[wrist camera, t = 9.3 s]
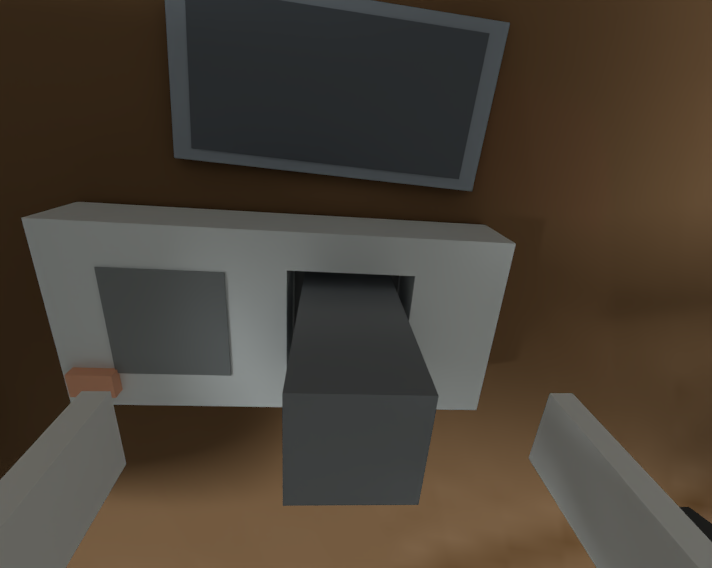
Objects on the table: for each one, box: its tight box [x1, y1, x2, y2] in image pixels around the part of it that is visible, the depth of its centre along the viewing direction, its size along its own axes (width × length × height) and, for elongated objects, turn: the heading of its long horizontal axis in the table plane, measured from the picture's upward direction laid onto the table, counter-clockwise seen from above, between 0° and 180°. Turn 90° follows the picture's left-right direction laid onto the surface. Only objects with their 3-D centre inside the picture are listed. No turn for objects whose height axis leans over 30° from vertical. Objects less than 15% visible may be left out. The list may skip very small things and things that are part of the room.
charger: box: [282, 271, 439, 506], centre depth 15 cm, size 4×4×10 cm
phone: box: [165, 0, 510, 191], centre depth 17 cm, size 7×14×1 cm, turn 83°
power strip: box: [21, 202, 516, 410], centre depth 18 cm, size 20×9×4 cm, turn 86°
